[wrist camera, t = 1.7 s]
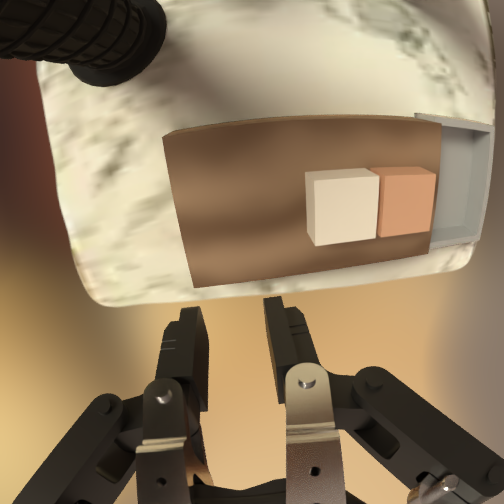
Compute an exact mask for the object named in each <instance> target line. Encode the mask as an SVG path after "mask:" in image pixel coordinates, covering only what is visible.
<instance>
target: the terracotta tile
mask: <svg viewBox="0 0 504 504" xmlns="http://www.w3.org/2000/svg"><path fill="white" fill-rule="evenodd" d="M370 171H371V172H373V173H375V174H376V175H378V176H379V197H378V213H377V226H376V233H377V234H378V235H379V236H380V237H388V236H396V235H403V234H411V233H418V232H425V231H429V229H430V223H431V216H432V209H433V201H434V192H435V182H436V174H434V173H432V172H430V171H428V170H426V169H424V168H421V167H378V168H370Z"/></svg>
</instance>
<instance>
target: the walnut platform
mask: <svg viewBox="0 0 504 504" xmlns="http://www.w3.org/2000/svg"><path fill="white" fill-rule="evenodd" d="M441 134H442V123H437V122H433V121H428V120H423V119H418V118H413V117H402V116H385V115H305V116H287V117H273V118H261V119H251V120H242V121H234V122H226V123H218V124H211V125H205V126H199V127H193V128H187V129H181V130H176V131H173V132H171V133H169V134H167V135H165V136H163V137H162V140H163V146H164V152H165V157H166V163H167V168H168V173H169V179H170V184H171V189H172V194H173V199H174V204H175V208H176V213H177V218H178V222H179V227H180V231H181V236H182V240H183V245H184V249H185V253H186V257H187V262H188V266H189V270H190V274H191V278H192V282H193V286H194V288H200V287H209V286H217V285H225V284H233V283H241V282H248V281H256V280H263V279H271V278H278V277H285V276H292V275H299V274H306V273H313V272H320V271H326V270H333V269H339V268H346V267H352V266H359V265H365V264H371V263H377V262H383V261H389V260H395V259H401V258H407V257H412V256H418V255H424V254H428V252H429V247H430V241H431V235H432V230H433V223H434V217H435V209H436V202H437V193H438V184H439V173H440V158H441ZM378 167H421V168H424V169H426V170H428V171H430V172H432V173H434V174H436V182H435V192H434V201H433V209H432V216H431V223H430V229H429V231H425V232H418V233H411V234H403V235H396V236H388V237H380V236H379V235H378V234H377V233H376V237H375V238H373V239H366V240H359V241H351V242H344V243H336V244H328V245H321V246H315V245H314V243H313V241H312V240H311V238H310V236H309V234H308V233H307V211H306V185H305V172H311V171H324V170H339V169H356V168H366V169H368V170H369V171H370V168H378Z"/></svg>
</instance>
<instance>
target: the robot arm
mask: <svg viewBox="0 0 504 504" xmlns="http://www.w3.org/2000/svg"><path fill="white" fill-rule="evenodd" d="M263 304H264V314H265V324H266V332H267V338H268V345H269V351H270V356H271V362H272V367H273V373H274V379H275V385H276V391H277V396H278V402H279V404H283V403H285V407H286V478H283V479H276V480H272V481H270V482H267V483H264V484H261V485H258V486H255V487H252V488H248V489H245V490H233V489H227V488H221V487H216V486H214V484H213V480H212V477H211V474H210V472H209V469H208V465H207V459H206V453H205V447H204V442H203V435H202V428H201V425H200V412H205V411H208V369H209V339H208V334H207V330H206V326H205V323H204V319H203V315H202V312H201V308H200V307H199V306H197V307H187V308H182V309H181V312H180V318H179V321H172V322H170V323H169V325H168V326H167V327H166V329H165V330H164V335H163V339H162V344H161V350H160V354H159V359H158V365H157V370H156V376H155V380H154V381H152V382H151V383H150V384H149V385H148V386H147V387H146V389H145V390H144V394H142V395H140V396H137V397H134V398H130V399H126V400H123V401H122V400H121V399H120V398H119V397H118V396H116V395H114V394H108V393H107V394H102V395H100V396H98V397H97V398H95V399H94V400H93V401H92V402H91V404H90V405H89V406H88V407H87V409H86V410H85V411H84V412H83V413H82V415H81V416H80V417H79V418H78V420H77V421H76V422H75V423H74V425H73V426H72V427H71V428H70V429H69V431H68V432H67V433H66V434H65V436H64V437H63V438H62V439H61V441H60V442H59V443H58V444H57V446H56V447H55V448H54V449H53V451H52V452H51V453H50V454H49V456H48V457H47V459H46V460H45V461H44V462H43V463H42V465H41V466H40V467H39V469H38V470H37V471H36V472H35V474H34V475H33V476H32V478H31V479H30V480H29V482H28V483H27V484H26V485H25V487H24V488H23V489H22V491H21V492H20V493H19V495H18V496H17V497H16V499H15V500H14V501H13V503H12V504H113V503H114V502H115V500H116V499H117V497H118V496H119V495H120V493H121V492H122V490H123V489H124V487H125V486H126V484H127V483H128V481H129V480H130V478H131V477H132V475H133V474H134V473H135V471H136V479H137V497H138V504H366V503H365V502H363V501H361V500H360V499H358V498H357V497H355V496H354V495H352V494H351V493H349V492H348V491H346V490H345V482H344V471H343V461H342V452H341V444H340V436H339V431H338V429H343V430H345V431H346V432H347V433H349V435H351V437H353V438H354V439H355V440H356V441H357V442H358V443H359V444H360V445H361V446H362V447H363V448H364V449H365V450H366V451H367V452H368V453H370V454H371V455H372V456H373V457H374V458H375V459H376V460H377V461H378V462H380V464H382V465H383V466H384V467H385V468H386V469H387V470H388V471H389V472H391V473H392V474H393V475H394V476H395V477H396V478H397V479H399V480H400V481H401V482H402V483H403V484H404V485H406V486H407V487H408V488H409V489H410V490H411V491H410V492H409V494H408V498H407V504H481V503H483V502H485V501H487V500H489V499H491V498H492V497H494V496H496V495H498V494H499V493H500V492H502V491H503V490H504V459H503V458H501V457H500V456H499V455H497V454H496V453H495V452H493V451H492V450H491V449H489V448H488V447H487V446H485V445H484V444H482V443H481V442H480V441H479V440H477V439H476V438H474V437H473V436H472V435H470V434H469V433H468V432H466V431H465V430H464V429H463V428H461V427H460V426H459V425H457V424H456V423H455V422H453V421H452V420H451V419H449V418H448V417H447V416H446V415H444V414H443V413H442V412H440V411H439V410H438V409H436V408H435V407H434V406H432V405H431V404H430V403H428V402H427V401H426V400H425V399H423V398H422V397H420V396H419V395H418V394H417V393H415V392H414V391H413V390H412V389H410V388H409V387H408V386H406V385H405V384H404V383H402V382H401V381H400V380H398V379H397V378H396V377H395V376H393V375H392V374H391V373H390V372H388V371H387V370H385V369H383V368H381V367H376V366H371V367H366V368H364V369H361V370H360V371H359V372H358V373H357V374H356V375H355V376H348V375H337V374H333V373H330V372H329V371H327V370H325V369H324V368H323V367H322V366H321V364H320V362H319V360H318V357H317V354H316V351H315V348H314V344H313V341H312V338H311V335H310V333H309V330H308V326H307V324H306V320H305V318H304V314H303V313H302V312H301V311H300V310H299V309H298V308H296V307H289V308H284V305H283V302H282V298H281V296H277V297H270V298H264V299H263Z"/></svg>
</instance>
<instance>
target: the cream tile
mask: <svg viewBox="0 0 504 504" xmlns="http://www.w3.org/2000/svg"><path fill="white" fill-rule="evenodd" d="M305 185H306V211H307V233H308V234H309V236H310V238H311V240H312V241H313V243H314V245H315V246H321V245H328V244H336V243H344V242H351V241H359V240H366V239H373V238H375V237H376V226H377V213H378V197H379V176H378V175H376V174H375V173H373V172H371V171H369V170H368V169H366V168H356V169H339V170H324V171H311V172H305Z"/></svg>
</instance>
